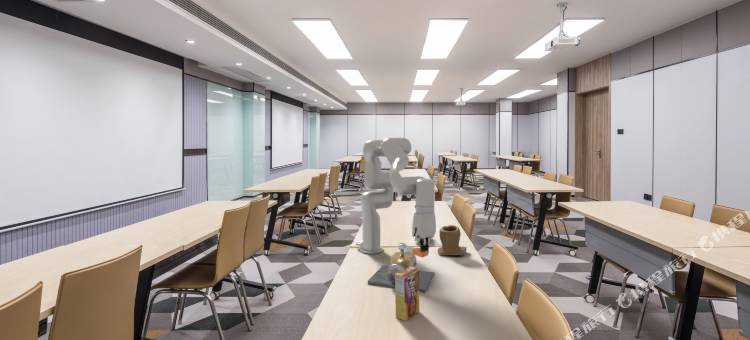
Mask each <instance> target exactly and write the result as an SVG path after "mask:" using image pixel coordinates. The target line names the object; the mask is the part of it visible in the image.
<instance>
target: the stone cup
mask: <svg viewBox="0 0 750 340" xmlns="http://www.w3.org/2000/svg"><path fill="white" fill-rule="evenodd" d="M438 233H439V240H440V243H441V246H440V247H438V248H437V250H436V251H437V253H438V254H439V255H441V256H465V255H466V253H467V246H460V240H461V236H462V235H461V233H462V232H461V229H460V228H459V227H458V225H457V226H456V225H454V224H449V225H443V226H442V227H440V228H439V232H438Z"/></svg>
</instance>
